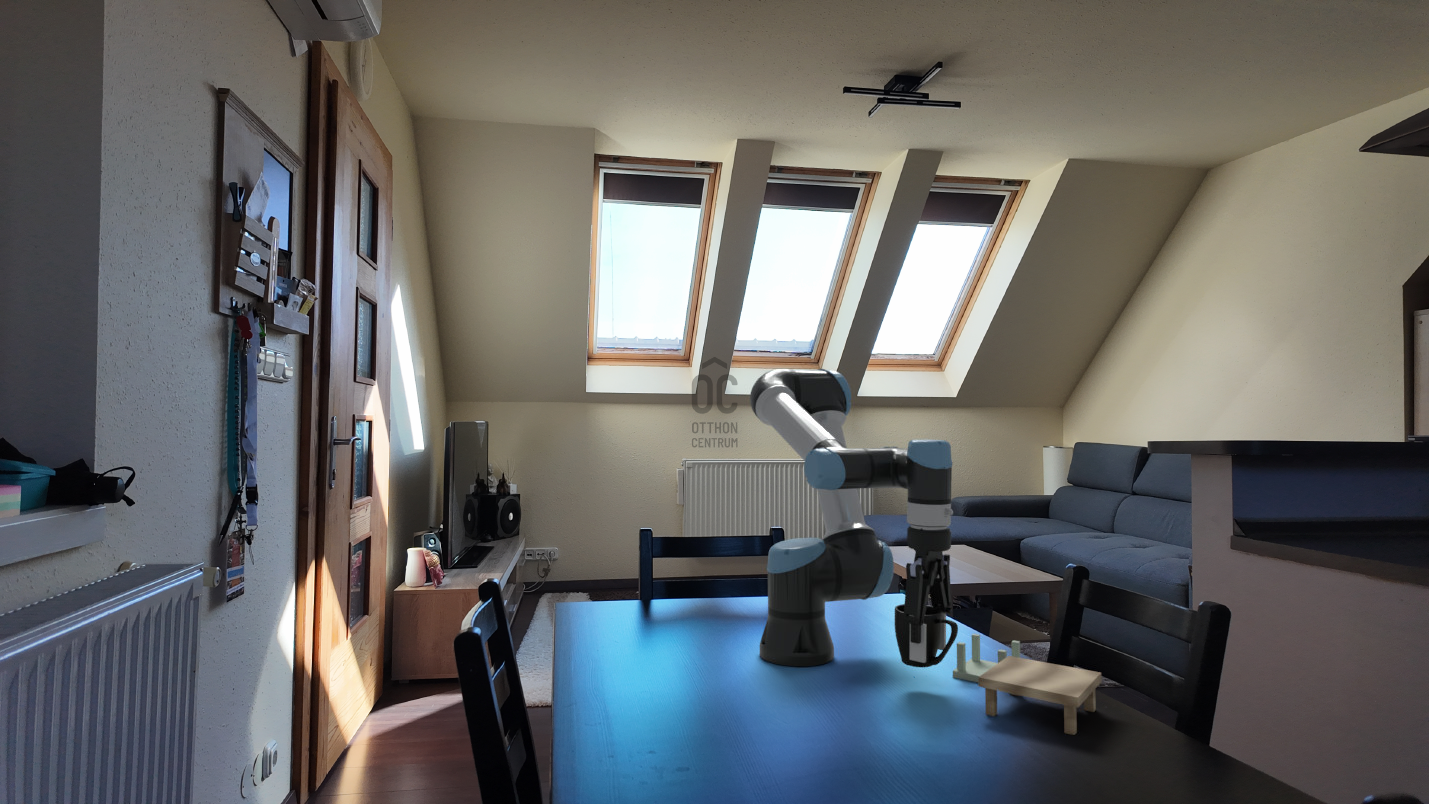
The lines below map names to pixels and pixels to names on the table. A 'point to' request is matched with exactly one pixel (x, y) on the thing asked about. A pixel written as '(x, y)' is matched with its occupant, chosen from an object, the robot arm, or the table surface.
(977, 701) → the table surface
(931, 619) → the mug
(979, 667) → the upturned footstool
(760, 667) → the table surface
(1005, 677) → the oak stool
